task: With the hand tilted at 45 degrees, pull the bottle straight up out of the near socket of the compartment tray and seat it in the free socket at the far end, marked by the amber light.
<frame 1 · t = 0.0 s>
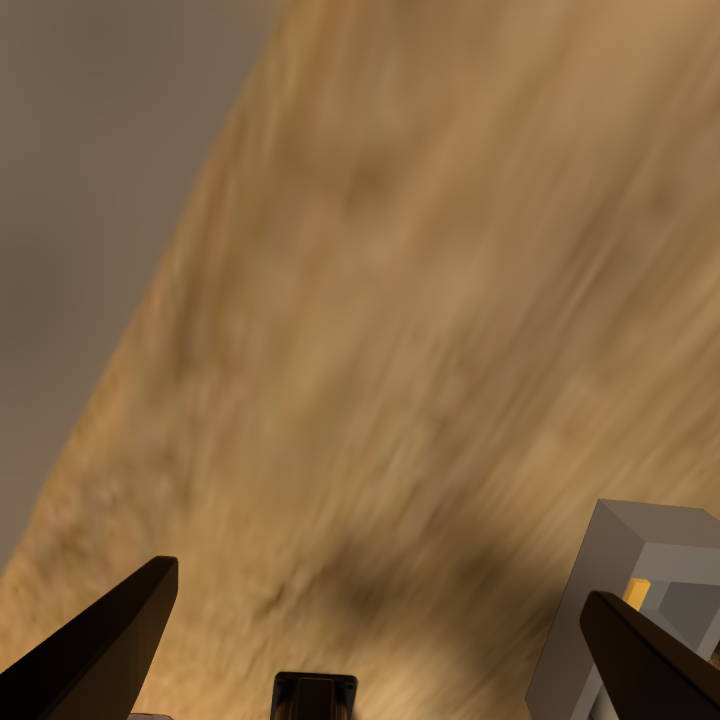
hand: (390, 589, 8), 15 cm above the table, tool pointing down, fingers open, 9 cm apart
bottle: (597, 667, 28), point 1 cm above the table, touching compartment tray
compartment tray: (606, 611, 28), on the table
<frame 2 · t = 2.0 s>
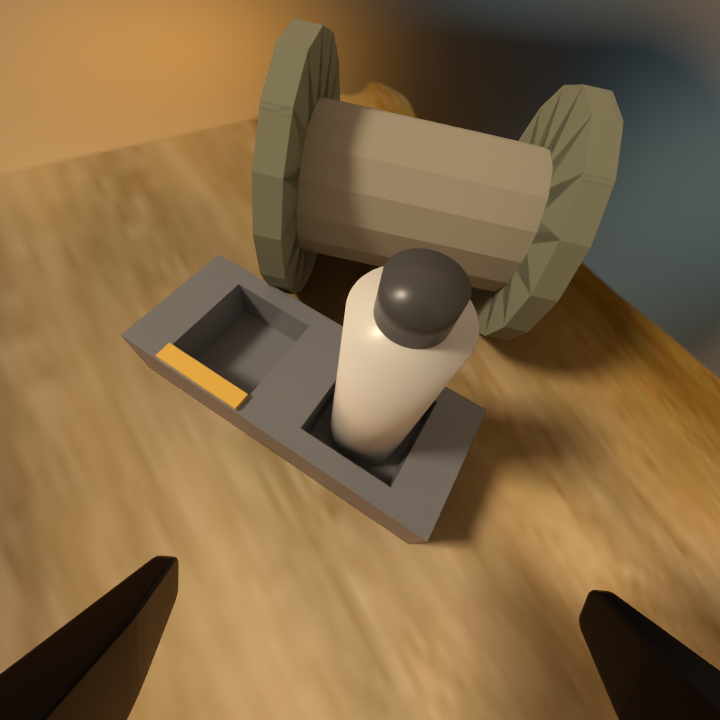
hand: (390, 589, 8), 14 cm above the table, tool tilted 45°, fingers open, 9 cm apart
bottle: (364, 430, 22), point 1 cm above the table, touching compartment tray
spool: (391, 280, 30), on the table
compartment tray: (306, 399, 24), on the table
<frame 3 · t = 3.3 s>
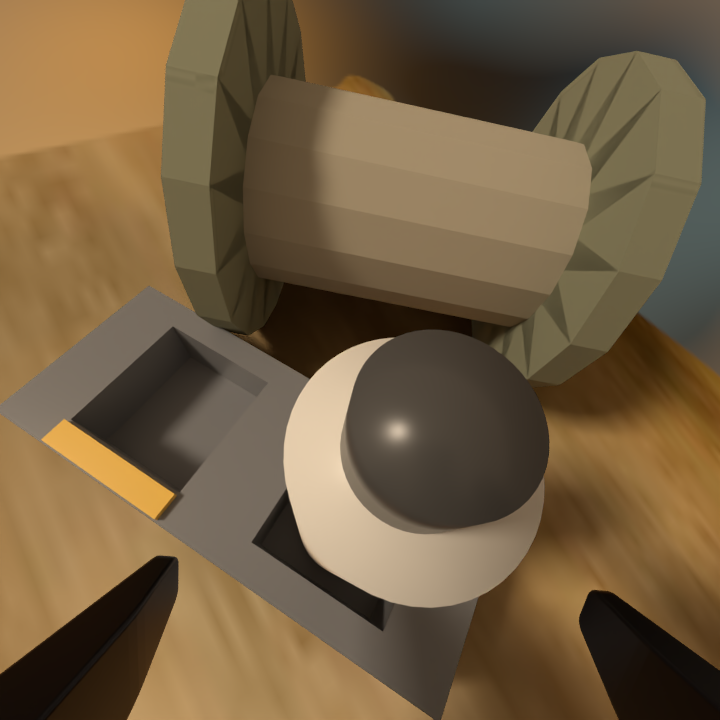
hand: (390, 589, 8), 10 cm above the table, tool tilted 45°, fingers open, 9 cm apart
bottle: (346, 519, 17), point 1 cm above the table, touching compartment tray
spool: (377, 306, 25), on the table
compartment tray: (269, 473, 18), on the table
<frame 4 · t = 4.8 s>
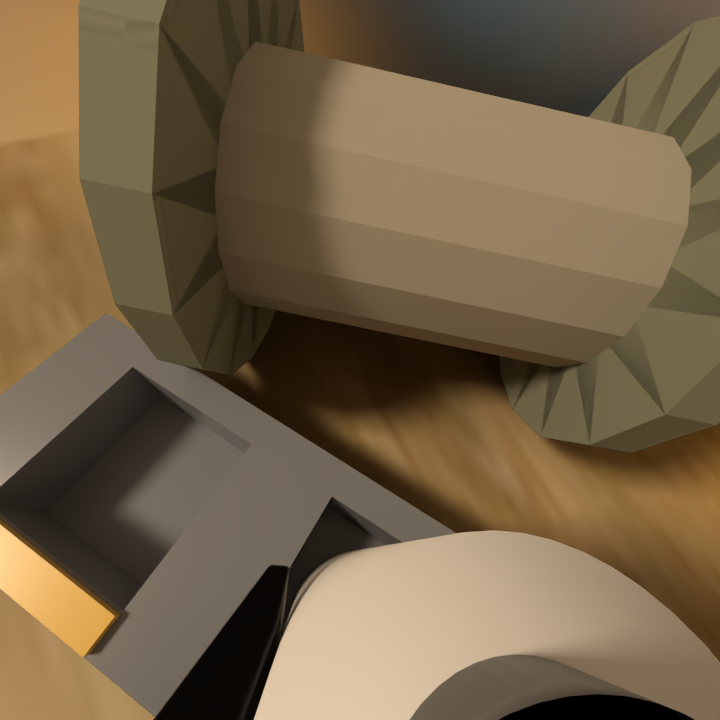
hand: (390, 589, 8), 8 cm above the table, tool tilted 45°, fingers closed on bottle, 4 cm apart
bottle: (350, 619, 13), point 1 cm above the table, touching gripper, compartment tray
spool: (388, 330, 21), on the table
compartment tray: (254, 550, 14), on the table
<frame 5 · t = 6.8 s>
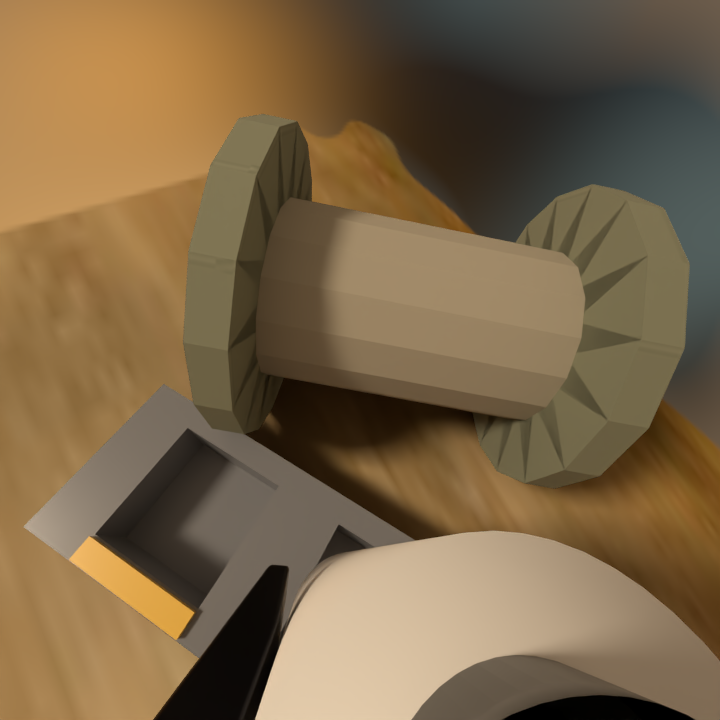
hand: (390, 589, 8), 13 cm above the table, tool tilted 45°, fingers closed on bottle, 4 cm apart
bottle: (350, 620, 13), point 6 cm above the table, touching gripper
spool: (380, 377, 26), on the table
compartment tray: (279, 562, 19), on the table
when the fingers open (9 cm above the table, at t = 8.7 s): bottle drops 1 cm, resting on compartment tray.
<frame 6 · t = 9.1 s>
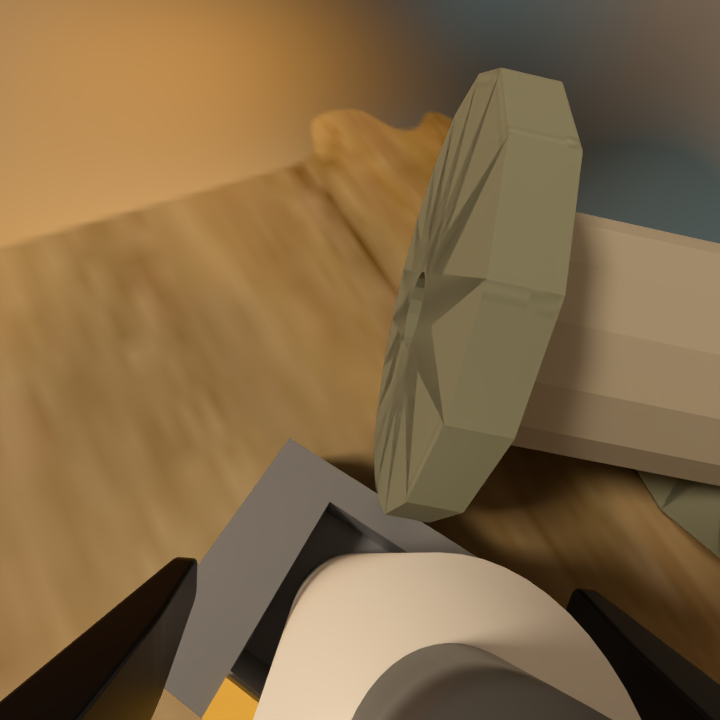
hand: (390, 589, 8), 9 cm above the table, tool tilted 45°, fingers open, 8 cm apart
bottle: (346, 615, 14), point 1 cm above the table, touching compartment tray
spool: (514, 416, 21), on the table
compartment tray: (438, 676, 14), on the table
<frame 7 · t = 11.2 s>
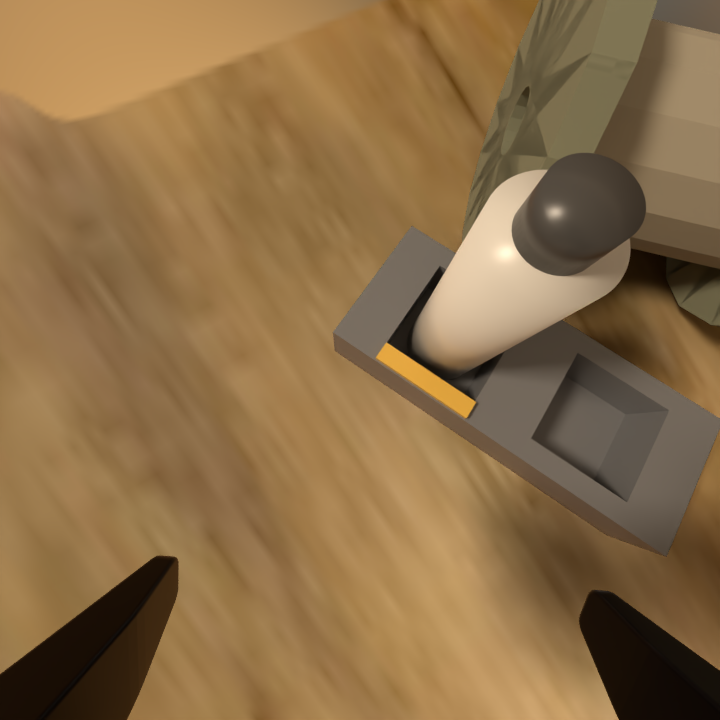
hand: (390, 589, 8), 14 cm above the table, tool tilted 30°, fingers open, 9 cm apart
bottle: (441, 345, 22), point 1 cm above the table, touching compartment tray
spool: (574, 239, 26), on the table
compartment tray: (496, 387, 23), on the table
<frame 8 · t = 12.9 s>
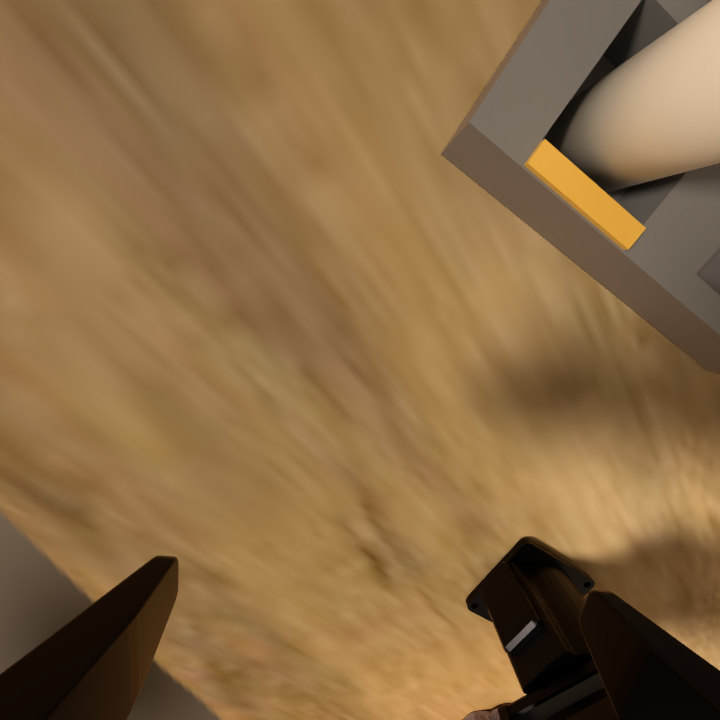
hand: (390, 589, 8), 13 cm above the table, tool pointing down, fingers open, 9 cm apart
bottle: (590, 145, 16), point 1 cm above the table, touching compartment tray
compartment tray: (640, 206, 18), on the table
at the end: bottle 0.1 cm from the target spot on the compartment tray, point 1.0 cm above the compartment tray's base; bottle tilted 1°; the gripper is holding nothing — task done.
